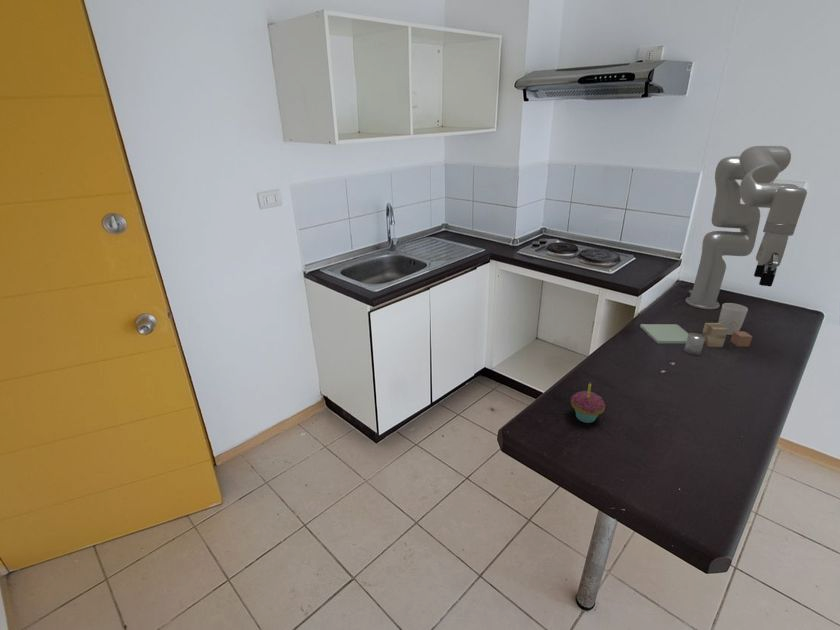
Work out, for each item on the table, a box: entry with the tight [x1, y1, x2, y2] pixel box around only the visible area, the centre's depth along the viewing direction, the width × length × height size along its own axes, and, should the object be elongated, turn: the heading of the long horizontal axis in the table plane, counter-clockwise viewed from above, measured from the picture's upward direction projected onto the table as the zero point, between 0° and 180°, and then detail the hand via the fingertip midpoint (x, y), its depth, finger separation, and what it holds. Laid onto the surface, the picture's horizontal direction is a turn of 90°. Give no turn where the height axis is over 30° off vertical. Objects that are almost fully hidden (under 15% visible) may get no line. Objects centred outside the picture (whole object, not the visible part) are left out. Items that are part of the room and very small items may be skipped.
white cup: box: [717, 302, 749, 336], centre depth 163 cm, size 8×8×10 cm
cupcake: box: [570, 382, 606, 424], centre depth 115 cm, size 9×8×12 cm
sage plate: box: [639, 323, 689, 345], centre depth 163 cm, size 14×14×1 cm
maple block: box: [701, 322, 728, 348], centre depth 155 cm, size 5×5×7 cm
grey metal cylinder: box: [683, 332, 705, 356], centre depth 150 cm, size 5×5×6 cm
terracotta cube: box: [730, 330, 753, 348], centre depth 155 cm, size 4×4×4 cm
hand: (762, 281), depth 143 cm, fingers open, 9 cm apart
